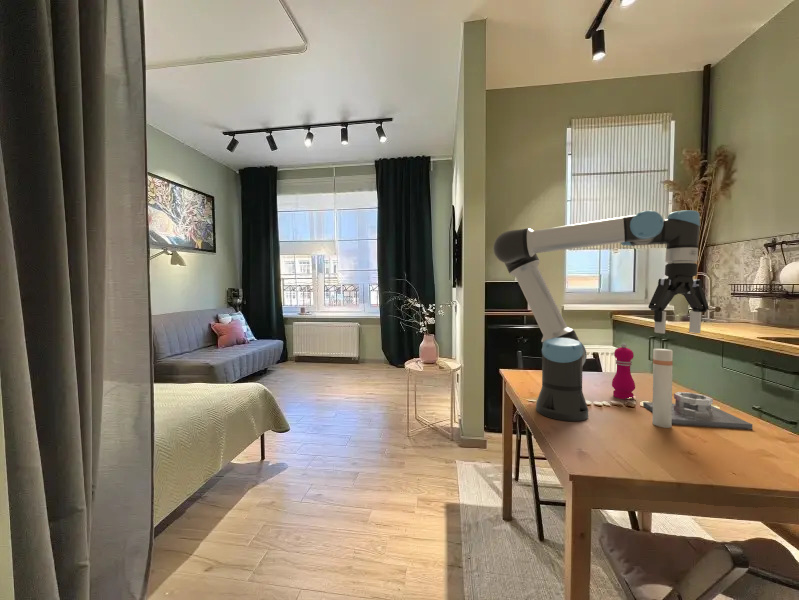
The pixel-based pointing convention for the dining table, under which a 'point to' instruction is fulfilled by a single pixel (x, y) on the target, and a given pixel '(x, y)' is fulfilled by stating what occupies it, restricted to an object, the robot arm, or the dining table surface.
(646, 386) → the dining table surface
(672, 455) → the dining table surface
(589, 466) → the dining table surface
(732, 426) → the tube holder base
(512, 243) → the robot arm
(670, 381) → the cream ringed tube
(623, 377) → the pepper mill
